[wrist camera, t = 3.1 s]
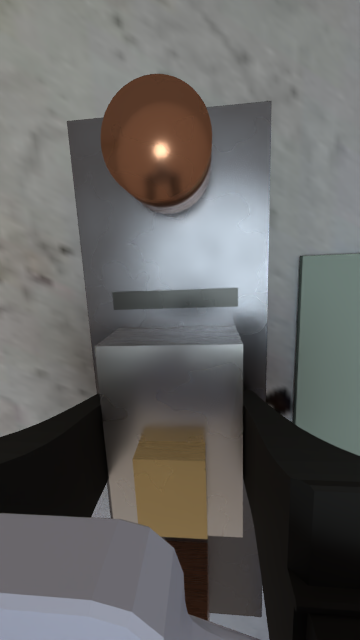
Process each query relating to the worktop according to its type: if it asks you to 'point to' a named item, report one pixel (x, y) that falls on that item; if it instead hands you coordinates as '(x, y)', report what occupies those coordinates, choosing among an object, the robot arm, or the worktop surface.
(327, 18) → the worktop surface
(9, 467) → the robot arm
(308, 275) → the rubber mat
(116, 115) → the hand plane
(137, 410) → the lever cap
